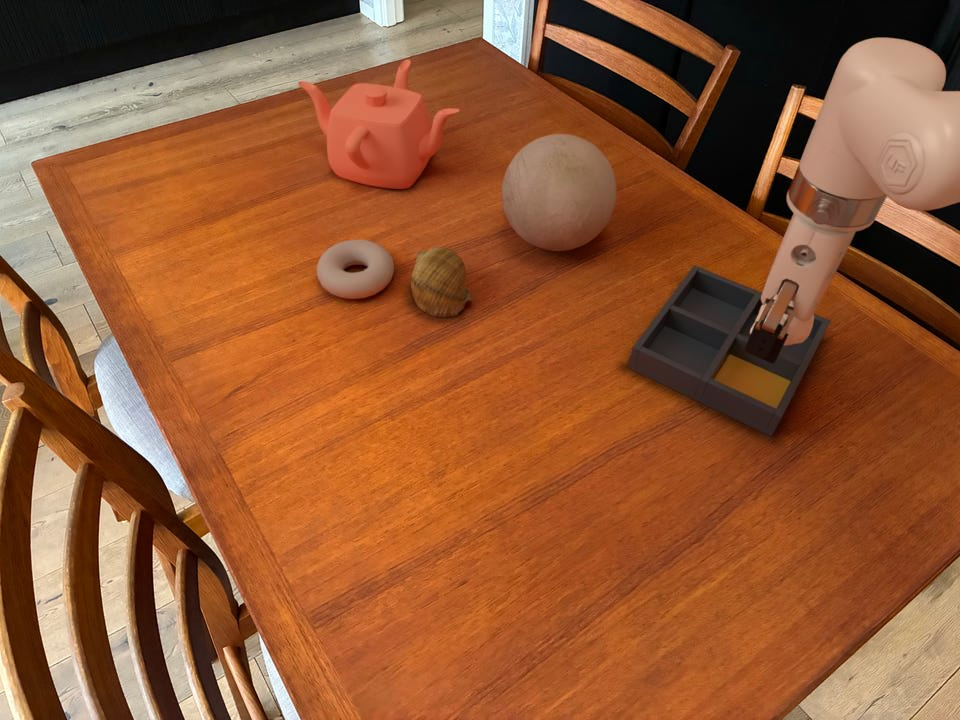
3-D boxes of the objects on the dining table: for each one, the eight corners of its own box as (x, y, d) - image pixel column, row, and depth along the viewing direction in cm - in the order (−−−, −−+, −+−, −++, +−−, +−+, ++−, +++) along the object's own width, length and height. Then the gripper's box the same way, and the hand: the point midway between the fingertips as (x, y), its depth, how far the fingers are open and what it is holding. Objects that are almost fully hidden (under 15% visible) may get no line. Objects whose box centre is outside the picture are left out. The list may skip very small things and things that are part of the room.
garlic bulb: (729, 338, 77) (743, 301, 73) (767, 316, 79) (783, 279, 75) (769, 371, 74) (786, 334, 70) (808, 347, 76) (826, 310, 72)
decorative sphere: (536, 287, 94) (544, 191, 83) (481, 224, 103) (482, 129, 92) (629, 253, 99) (649, 157, 88) (569, 195, 108) (581, 101, 97)
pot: (418, 125, 121) (414, 51, 111) (461, 180, 110) (460, 104, 101) (310, 150, 115) (296, 75, 106) (344, 211, 105) (331, 133, 96)
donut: (354, 245, 100) (302, 283, 94) (351, 224, 98) (297, 262, 92) (410, 273, 96) (359, 315, 91) (409, 253, 94) (356, 295, 88)
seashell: (464, 328, 95) (497, 277, 93) (440, 331, 89) (475, 276, 86) (410, 286, 98) (440, 236, 95) (383, 285, 91) (415, 231, 89)
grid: (820, 341, 89) (831, 320, 86) (771, 437, 79) (781, 417, 76) (687, 285, 95) (694, 264, 92) (627, 367, 85) (632, 347, 83)
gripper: (852, 262, 57) (779, 404, 70) (906, 159, 66) (832, 301, 79) (759, 227, 59) (705, 370, 73) (823, 133, 69) (766, 275, 82)
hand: (772, 333), depth 76 cm, fingers closed on garlic bulb, 6 cm apart
